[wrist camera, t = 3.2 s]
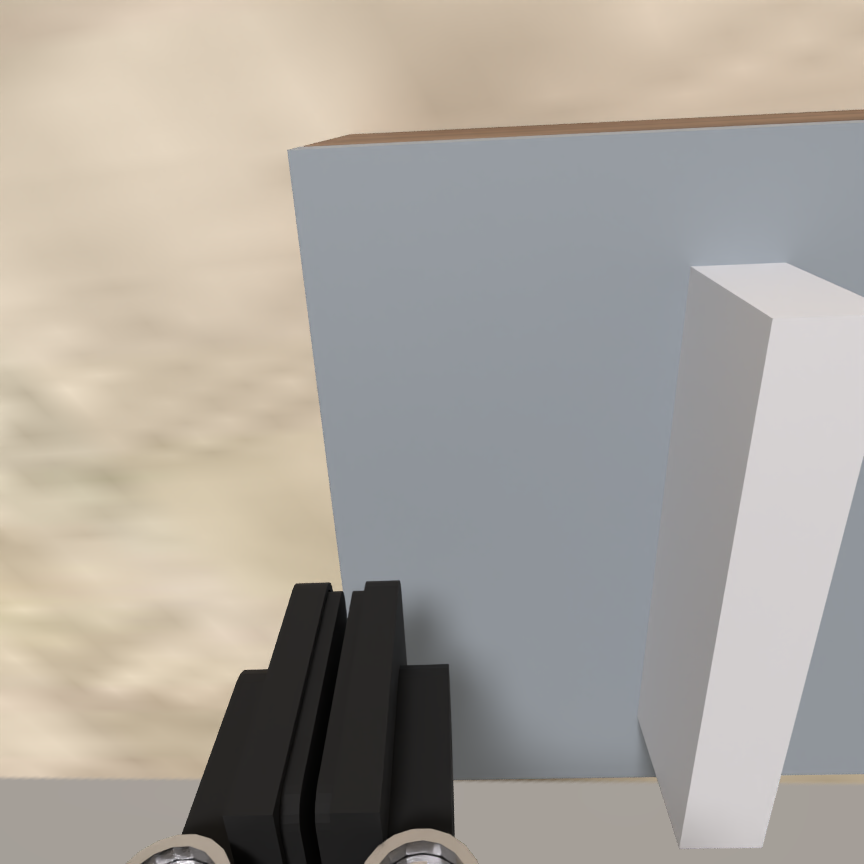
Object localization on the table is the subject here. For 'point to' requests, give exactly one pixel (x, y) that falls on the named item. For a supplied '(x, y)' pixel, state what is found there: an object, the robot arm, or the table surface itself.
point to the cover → (607, 444)
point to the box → (595, 127)
